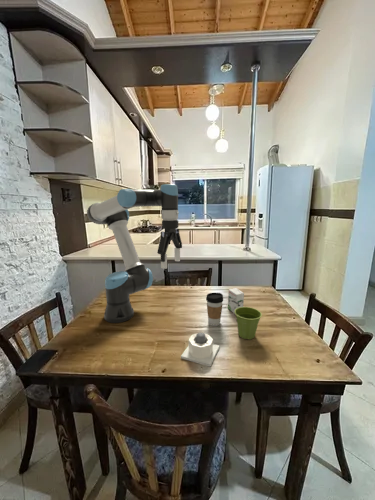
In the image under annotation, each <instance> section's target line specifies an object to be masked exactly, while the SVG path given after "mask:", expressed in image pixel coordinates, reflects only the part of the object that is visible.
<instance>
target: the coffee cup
mask: <svg viewBox="0 0 375 500" xmlns="http://www.w3.org/2000/svg"><path fill="white" fill-rule="evenodd" d="M205 297H206V310H207V319H208V320H207V323H208V324H209V325H210V326H213V327H214V326H219V325H221V318H222V312H223V302H224V295H223V294H222V293H220V292H210V293H207V294H206V296H205Z"/></svg>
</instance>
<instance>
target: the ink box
mask: <svg viewBox="0 0 375 500" xmlns="http://www.w3.org/2000/svg"><path fill="white" fill-rule="evenodd" d="M227 294H228V296H227V309H228V310H230V311H231V312H232V313H233V314H234V315H236V314H235V312H234V311H235V309H237V308H239V307H244V301H245V299H244V298H245V293H244V292H243V291H241V290H240V289H239V288H237V287H234V288H229V289H228V293H227Z"/></svg>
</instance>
